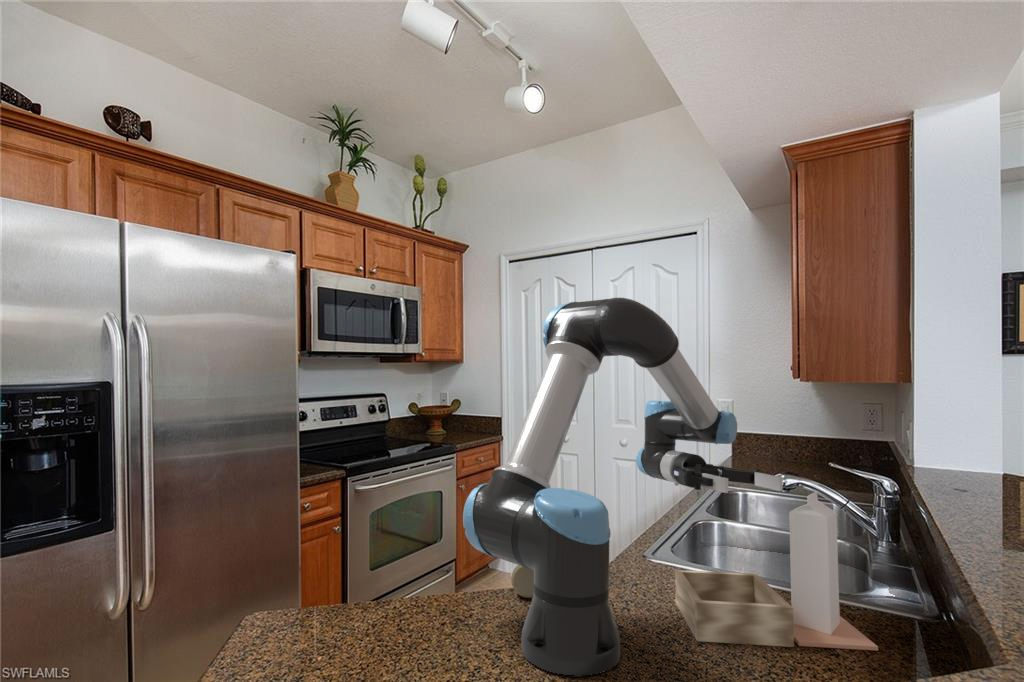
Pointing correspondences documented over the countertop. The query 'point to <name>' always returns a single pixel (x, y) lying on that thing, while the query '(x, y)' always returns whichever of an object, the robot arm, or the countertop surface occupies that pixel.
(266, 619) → the countertop surface
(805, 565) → the milk
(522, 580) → the ceramic mug
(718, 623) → the holder
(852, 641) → the mat
